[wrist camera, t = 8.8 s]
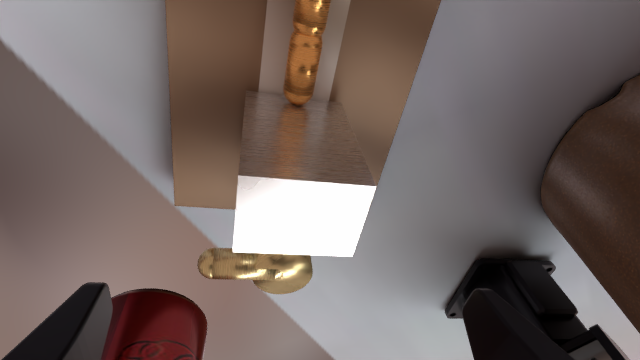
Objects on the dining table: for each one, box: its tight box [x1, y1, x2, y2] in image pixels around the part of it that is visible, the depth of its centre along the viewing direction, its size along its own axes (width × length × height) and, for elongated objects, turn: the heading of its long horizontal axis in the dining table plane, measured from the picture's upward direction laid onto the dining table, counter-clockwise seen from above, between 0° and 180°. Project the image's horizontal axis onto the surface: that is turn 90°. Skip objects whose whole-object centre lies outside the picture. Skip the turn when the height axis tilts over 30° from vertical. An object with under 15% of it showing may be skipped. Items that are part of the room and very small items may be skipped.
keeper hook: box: [198, 248, 312, 294], centre depth 16 cm, size 2×4×5 cm, turn 79°
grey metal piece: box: [232, 0, 376, 257], centre depth 12 cm, size 8×4×6 cm, turn 169°
